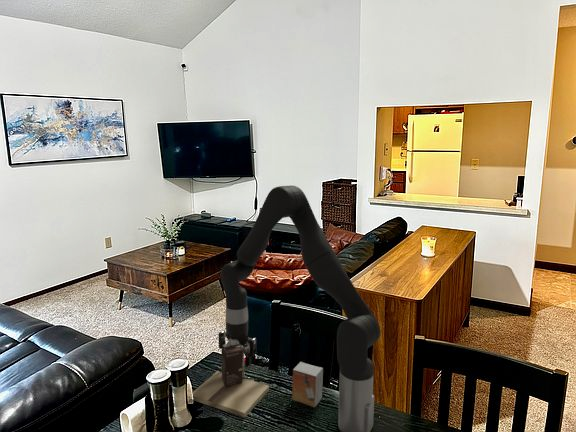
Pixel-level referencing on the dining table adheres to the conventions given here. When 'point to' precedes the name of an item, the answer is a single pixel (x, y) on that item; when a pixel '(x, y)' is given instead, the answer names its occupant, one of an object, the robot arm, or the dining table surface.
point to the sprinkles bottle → (234, 342)
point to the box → (232, 365)
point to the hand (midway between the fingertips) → (237, 363)
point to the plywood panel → (230, 394)
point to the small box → (307, 384)
